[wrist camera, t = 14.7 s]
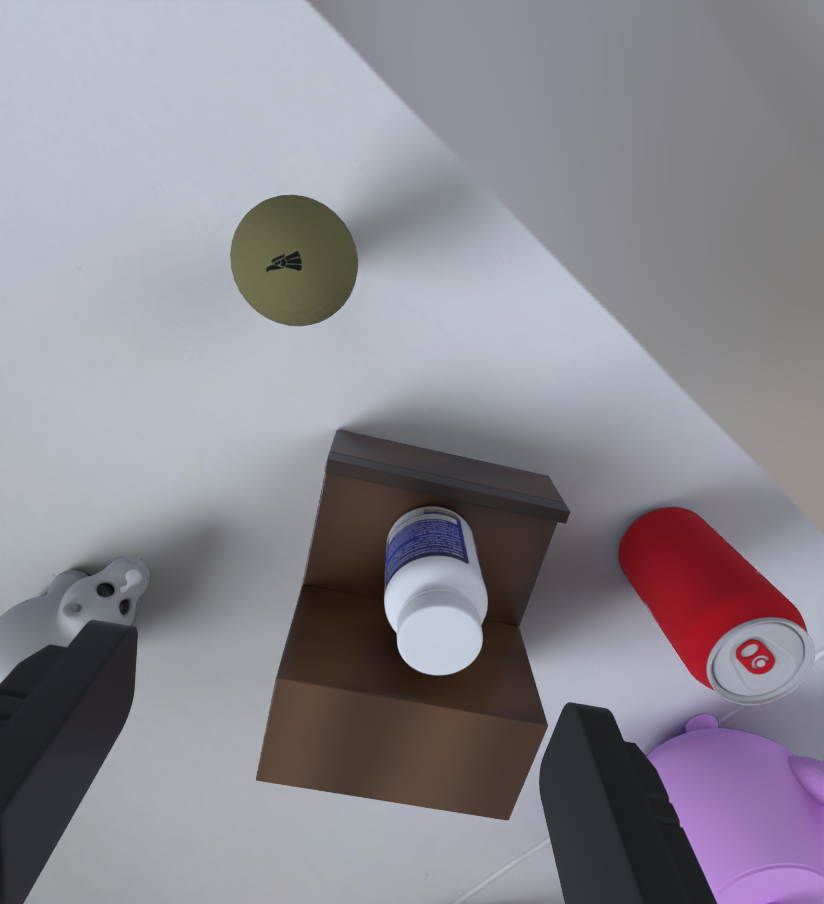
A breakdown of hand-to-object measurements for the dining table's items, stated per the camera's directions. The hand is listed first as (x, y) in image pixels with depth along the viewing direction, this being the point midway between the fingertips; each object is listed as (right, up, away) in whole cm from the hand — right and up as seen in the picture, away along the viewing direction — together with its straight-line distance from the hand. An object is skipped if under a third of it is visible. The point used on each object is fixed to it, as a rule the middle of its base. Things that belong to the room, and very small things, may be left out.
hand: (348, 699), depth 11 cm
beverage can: (+18, -1, +29) cm, 34 cm away
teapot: (+25, -20, +36) cm, 48 cm away
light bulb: (-4, +16, +22) cm, 28 cm away
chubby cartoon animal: (-20, -5, +30) cm, 36 cm away
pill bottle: (+2, -1, +24) cm, 25 cm away
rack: (+1, -3, +29) cm, 29 cm away
